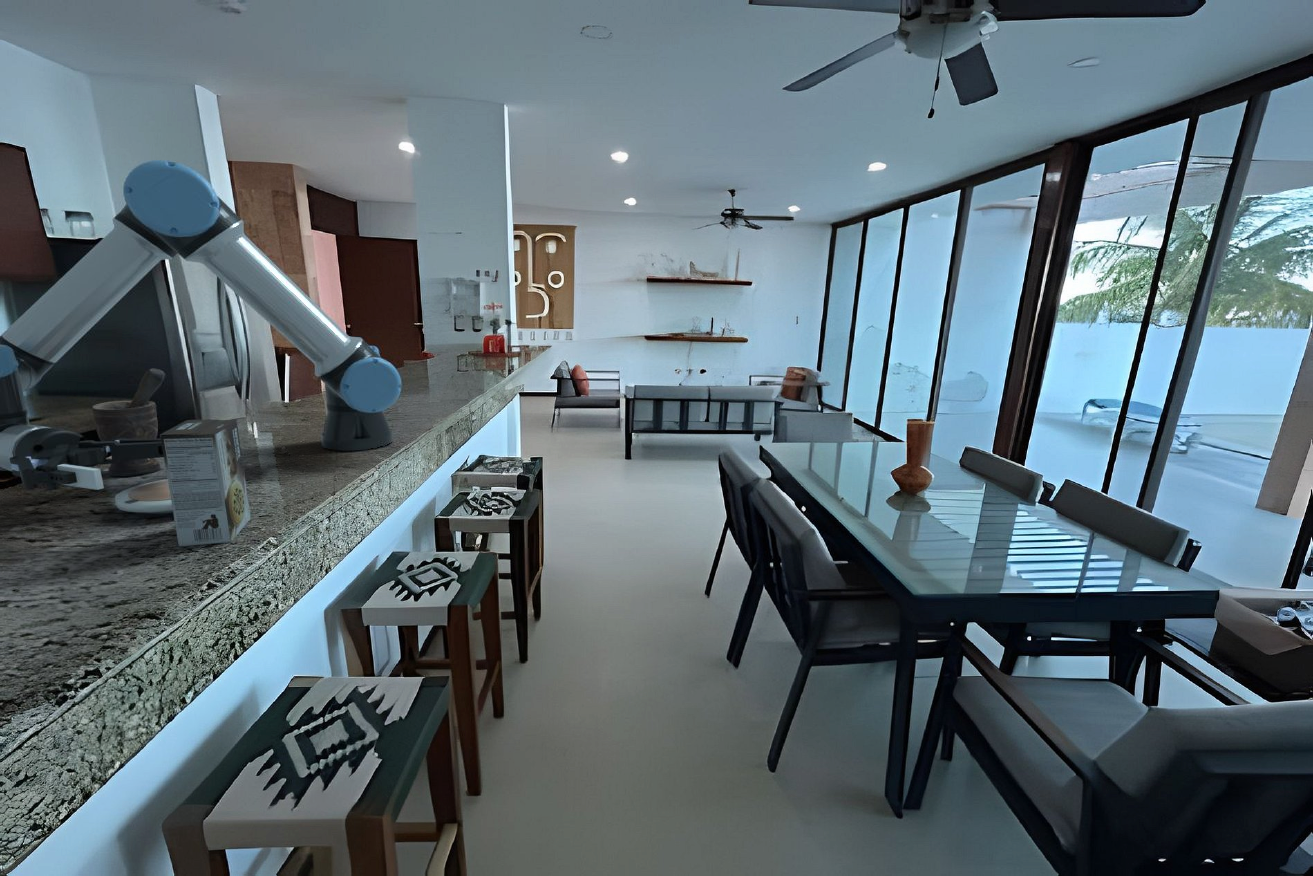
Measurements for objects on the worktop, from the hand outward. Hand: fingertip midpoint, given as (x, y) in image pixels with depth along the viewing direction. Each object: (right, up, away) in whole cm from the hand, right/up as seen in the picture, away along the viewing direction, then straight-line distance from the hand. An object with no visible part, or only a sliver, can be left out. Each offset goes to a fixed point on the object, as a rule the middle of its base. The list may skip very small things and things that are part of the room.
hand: (153, 466), depth 81 cm
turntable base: (-4, -7, +9) cm, 12 cm away
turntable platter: (-4, -5, +9) cm, 11 cm away
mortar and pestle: (-24, -2, +25) cm, 35 cm away
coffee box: (+9, -10, 0) cm, 14 cm away
